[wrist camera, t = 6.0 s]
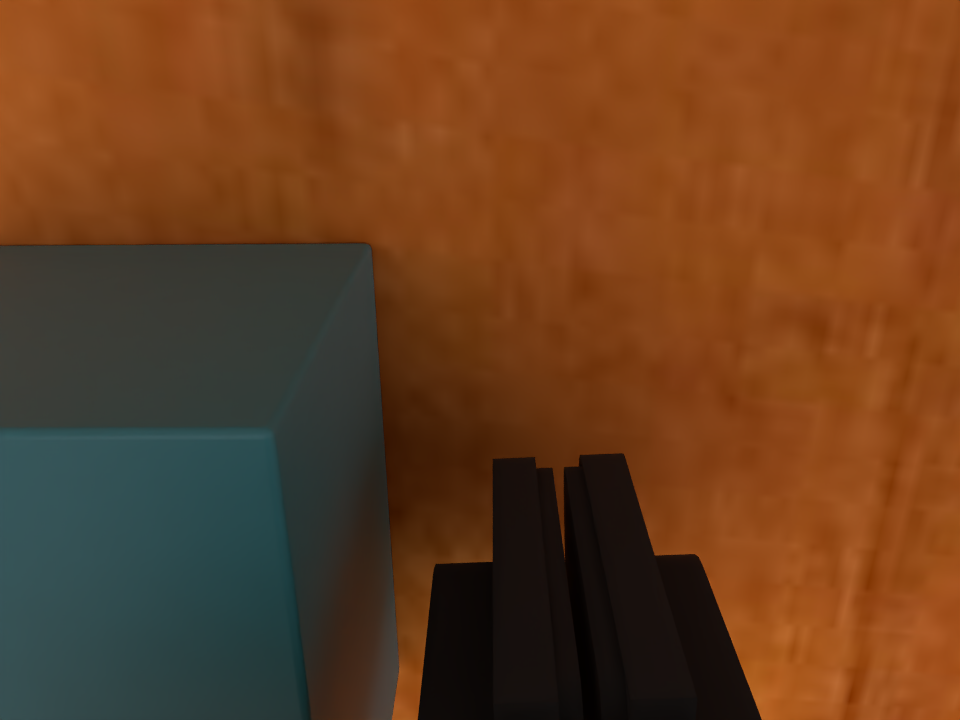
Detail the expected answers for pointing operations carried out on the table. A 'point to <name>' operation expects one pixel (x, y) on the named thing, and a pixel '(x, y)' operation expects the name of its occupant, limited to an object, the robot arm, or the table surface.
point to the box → (193, 485)
